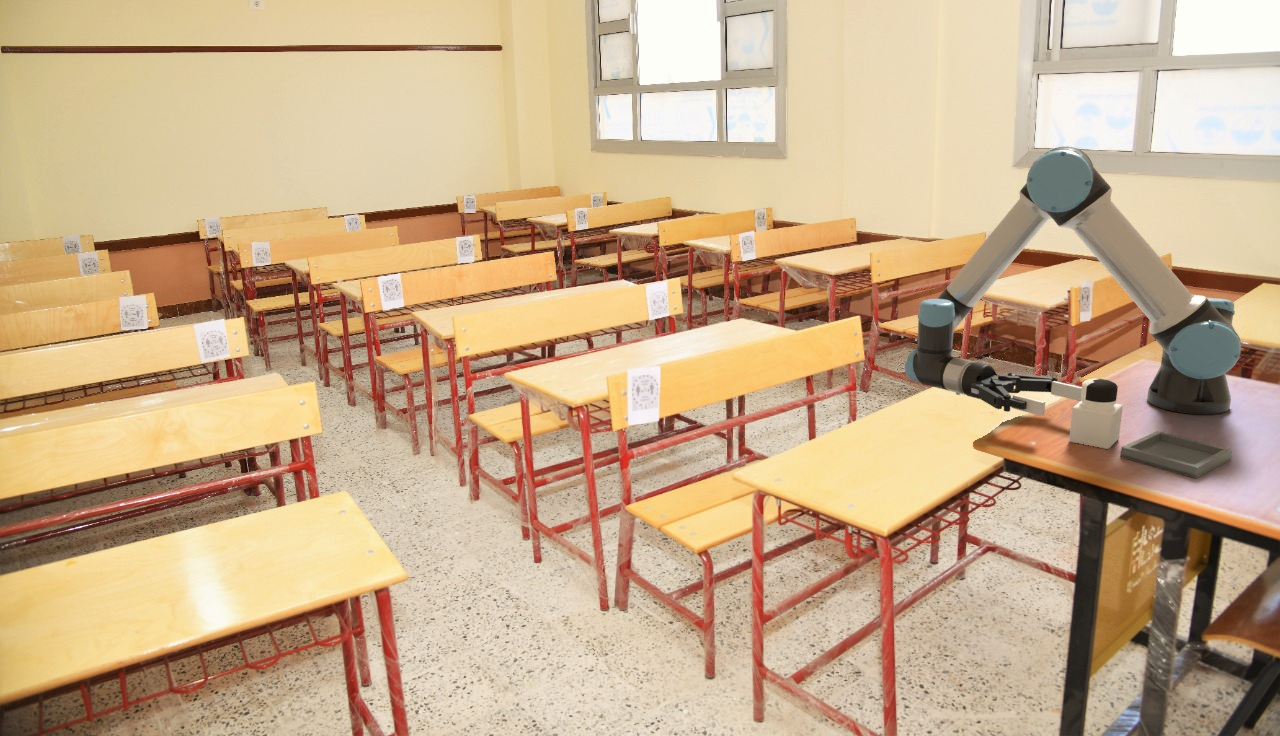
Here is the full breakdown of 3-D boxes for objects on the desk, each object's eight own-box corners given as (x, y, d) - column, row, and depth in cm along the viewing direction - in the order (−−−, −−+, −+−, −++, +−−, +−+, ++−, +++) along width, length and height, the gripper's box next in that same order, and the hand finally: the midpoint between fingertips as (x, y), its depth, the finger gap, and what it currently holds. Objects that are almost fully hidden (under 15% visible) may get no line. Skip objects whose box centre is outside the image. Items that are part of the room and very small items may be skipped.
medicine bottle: (1119, 439, 172) (1126, 379, 168) (1108, 450, 167) (1115, 389, 163) (1079, 431, 176) (1085, 374, 173) (1068, 442, 171) (1074, 382, 168)
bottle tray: (1156, 440, 170) (1157, 430, 169) (1230, 460, 160) (1232, 449, 159) (1120, 457, 163) (1121, 446, 162) (1195, 478, 153) (1197, 467, 152)
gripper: (1004, 383, 199) (1096, 406, 182) (932, 407, 186) (1024, 434, 169) (1006, 351, 197) (1100, 371, 180) (934, 373, 184) (1027, 396, 167)
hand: (1063, 401), depth 175 cm, fingers open, 13 cm apart
